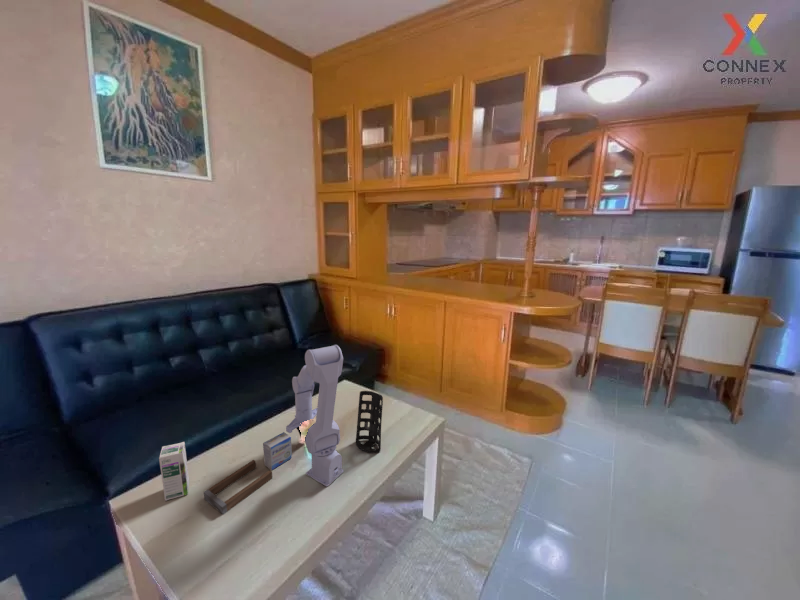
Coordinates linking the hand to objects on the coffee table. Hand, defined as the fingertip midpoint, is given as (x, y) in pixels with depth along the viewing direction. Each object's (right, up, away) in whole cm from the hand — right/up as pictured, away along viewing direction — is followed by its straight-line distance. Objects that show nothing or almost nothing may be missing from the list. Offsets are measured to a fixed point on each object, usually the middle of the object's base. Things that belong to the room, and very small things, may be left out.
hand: (304, 439), depth 122 cm
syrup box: (-31, -6, -23) cm, 39 cm away
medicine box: (-6, -4, -9) cm, 12 cm away
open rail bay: (-13, -6, -21) cm, 25 cm away
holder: (+24, -2, +1) cm, 24 cm away
